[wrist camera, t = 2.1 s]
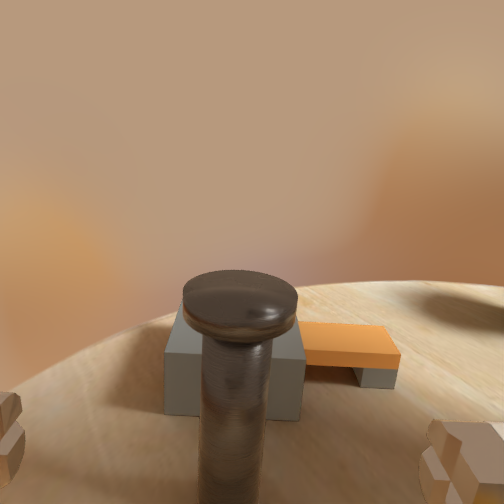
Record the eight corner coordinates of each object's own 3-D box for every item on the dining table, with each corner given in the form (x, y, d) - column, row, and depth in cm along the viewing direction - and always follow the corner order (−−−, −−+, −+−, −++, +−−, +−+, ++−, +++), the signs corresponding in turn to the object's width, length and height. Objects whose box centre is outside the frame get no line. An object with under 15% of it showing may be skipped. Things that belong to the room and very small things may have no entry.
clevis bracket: (370, 343, 45) (378, 295, 43) (413, 426, 33) (427, 366, 31) (186, 333, 44) (187, 284, 43) (164, 414, 33) (164, 352, 31)
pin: (271, 472, 28) (292, 273, 24) (276, 556, 23) (304, 321, 18) (186, 468, 28) (190, 267, 23) (172, 552, 23) (174, 314, 18)
